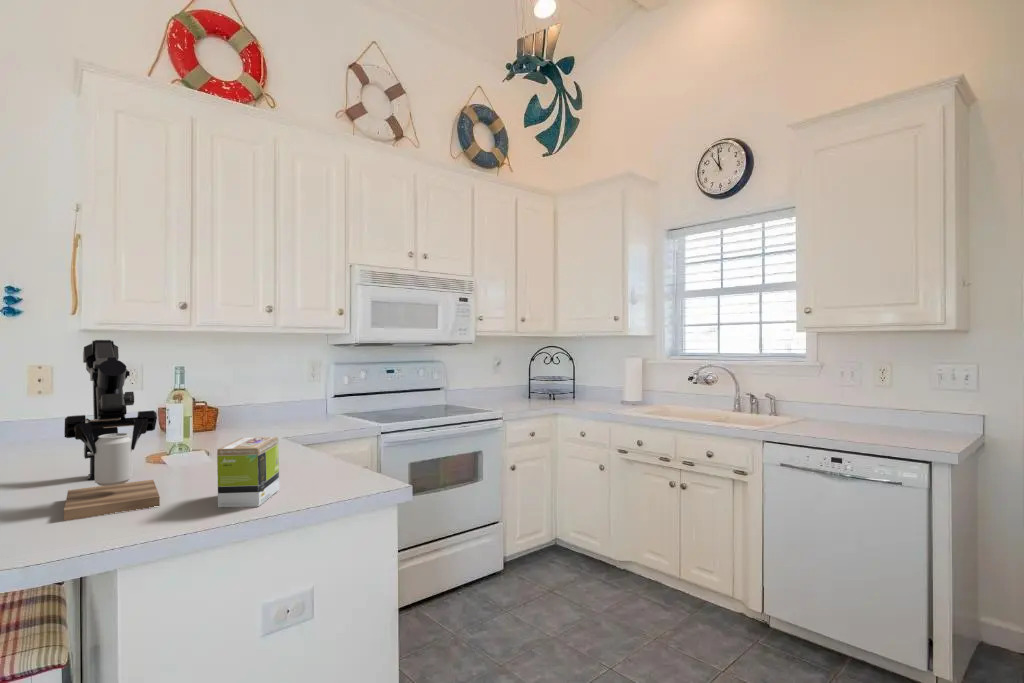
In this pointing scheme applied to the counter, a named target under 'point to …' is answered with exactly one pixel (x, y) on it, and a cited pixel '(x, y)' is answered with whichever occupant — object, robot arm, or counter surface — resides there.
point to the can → (113, 459)
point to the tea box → (247, 471)
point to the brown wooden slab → (110, 499)
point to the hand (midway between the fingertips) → (114, 450)
